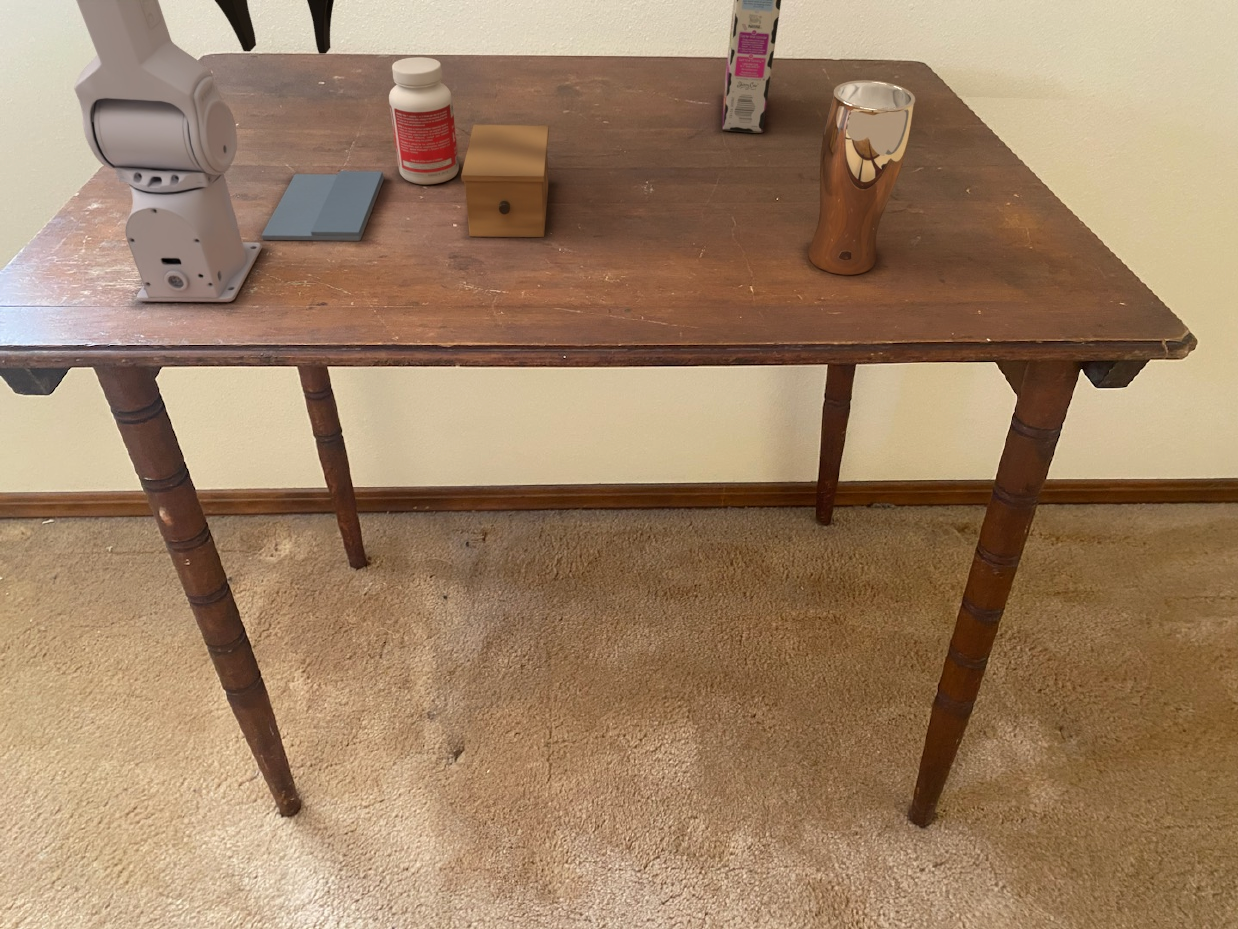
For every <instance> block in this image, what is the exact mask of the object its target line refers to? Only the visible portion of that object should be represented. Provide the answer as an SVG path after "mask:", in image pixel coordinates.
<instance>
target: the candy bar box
mask: <svg viewBox="0 0 1238 929" xmlns="http://www.w3.org/2000/svg"><path fill="white" fill-rule="evenodd" d="M781 4H782V0H733V4H732V12H731V20H730V29H729V30H730V32H729V40H728V48H727V58H726V59H727V60H726V67H725V68H726V69H725V79H724V88H723V102H722V103H723V104H722V109H723V110H722V127H721V128H722V130H723V131H727V132H738V133H739V132H740V133H751V134H752V133H753V134H762V133H763V132H764V125H765V118H766V113H767V112H766V110H767V103H768V99H769V98H768V97H769V90H770V83H771V77H772V69H773V64H774V63H773V61H774V55H775V48H776V41H777V35H778V26H779V21H780V20H779V19H780V14H781V13H780V12H781Z"/></svg>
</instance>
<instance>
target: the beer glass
mask: <svg viewBox="0 0 1238 929" xmlns="http://www.w3.org/2000/svg"><path fill="white" fill-rule="evenodd" d="M915 102H916V96H915V95H914V94H913V93H912V92H911V91H910V90H908V89H907V88H905V87H902V86H900V85H897V84H894V83H891V82H886V81H880V80H870V79H869V80H868V79H867V80H866V79H865V80H862V79H861V80H851V81H846V82H843V83H840V84H838V85H837V86H836V87H834V89H833V93H832V99H831V103H830V107H829V110H828V114H827V118H826V122H825V127H824V131H823V136H822V143H821V150H820V160H819V161H820V162H819V213H818V214H819V216H818V222H817V226H816V229H815V232H814V235H813V237H812V240H811V243H810V246H809V249H808V253H807V254H808V259H809V261H810V262H811V263H812V264H813V265H814V266H815V267H816V268H819V269H820V270H822V271H825V272H827V273H831V274H834V275H835V274H836V275H841V276H855V275H861V274H864V273H866V272H868V271H870V270H871V269H873V267H874V265H875V263H876V259H877V258H876V257H877V256H876V255H877V236H878V229H879V225H880V222H881V219H882V216H883V213H884V212H885V209H886V207H887V203H888V202H889V200H890V197H891V195H892V192H893V190H894V188H895V186H896V183H897V181H898V178H899V176H900V172H901V169H902V167H903V164H904V160H905V156H906V153H907V149H908V144H909V138H910V133H911V128H912V120H913V112H914V108H915V107H914V106H915Z"/></svg>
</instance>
